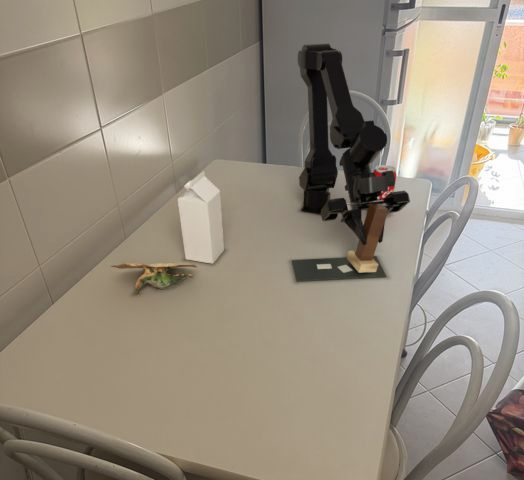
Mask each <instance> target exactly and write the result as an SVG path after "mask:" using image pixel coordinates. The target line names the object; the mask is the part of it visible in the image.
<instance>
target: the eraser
mask: <svg viewBox="0 0 524 480" xmlns="http://www.w3.org/2000/svg"><path fill="white" fill-rule="evenodd" d="M387 213H388V209H387V208H386V207H385V206H384V205H383V204H370V205H369V208H368V210H366V215H365V219H364V222H363V227H364V231H365V234H366V240H367V244H366V245H363V244H362V242H361V241H360V240H359V239H358V242H357V245H356V249H355V250H348V252H347V255H346V257H347V260H348V261H349V262H350V263H351V264H352V265H353V266H354V268H355V269H356V270H357V271H358V272H359V273H362V272H376V270H377V267H378V263H377V262H376V261H375V260H374V259H373V256H375V253H376V251H377V247H378V243H379V242H378V241H379V238H380V234H381V231H382V228H383V225H384V222H385V223H386V220H387V216H388V214H389V213H388V214H387ZM385 219H386V220H385ZM384 226H385V225H384Z"/></svg>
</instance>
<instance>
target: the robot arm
mask: <svg viewBox="0 0 524 480" xmlns="http://www.w3.org/2000/svg"><path fill="white" fill-rule="evenodd" d="M301 47H302V48H301V49H300V50H298V52H297V66H298V67H299V72H300V73H299V75H300V77H301V79H302V81H303V82H304V84H305V86H306V87H307V101H308V102H307V104H308V105H307V106H308V107H307V108H308V127H309V128H308V129H309V151H308V154H307V156H306V157H305V159H304V168H303V170H302V171H301V173H300V175H299V177H298V183H299V184H298V185H299V187H300V188H301V189H302V190H303V206H302V207H301V209H300V211H301V212H306V213H312V214H319V215H320V216H321V221H322V222H329V221H335V220H336V219H337V217H338V216H339V214H340V215H341V219H340V220H339V221H340V223H344V224H345V225H346V226H347V227H348V228H349V229H350V230H351V231H352V232H353V233H354V234H355V236H356V237H357V239H358V241H359V240H360V241H361V242H362V244H363V245H366V244H367V240H366V234H365V231H364V227H363V225H364V222H363V220H362V213H363V211H368V208H369V205H370V204H383V205H384V206H385V207H386V208H387V209H388V213H387V215H388V214H393V213H398V212H401V211H402V210H403V208H405V207H406V206H407V205H408V204H410V202H411V199H410V195H409V193H408V192H407V191H406V190H399V191H398V190H397V191H394V192H390V193H389V194H388V195H387V196H386V197H385V198H384V199H377V197H379V196H381V195H382V192H381V191H383V192H387V191H388V187H392V186H394V185H395V186H396V182H395V176H394V173H393V170H392V171H385V172H382V175H381V176H376V175H375V173H373V172H372V169H371V164H372V163H374V161H375V160H376V159H377V157H378V156H379V155H380V154H381V152H382V151H383V150H384V149H385V148H386V145H387V144H388V136H387V134H386V133H385V130H383V129H382V128H381V127H380V126H377V125H376V124H375V120H373V119H372V120H365V118H364V116H363V114H362V112H361V111H359V110H358V109H357V108H356V107H355V106H354V103H353V100H352V97H351V93H350V89H349V85H348V81H347V77H346V74H345V71H344V67H343V55H342V51H340V50H339V48H333V47H332V46H331V44H330V43H327V42H326V43H313V44H303V45H302V46H301ZM328 105H329V107H328ZM328 108H330V112H331V116H332V119H331V122H330V126H329V114H328V113H329V111H328V110H329V109H328ZM329 140H330V143H331V144H332V146H333V147H334V148H335V149H337V150H342V149H346V150H345V151H344V152H343V153H342V155H341V157H340V159H339V166H340V167H342V170H343V173H344V179H345V185H344V190H345V192H347V193H348V198H349V202H347V200H346V199H345V198H344V197H338V198H331V195H332V193H331V192H330V189H334V188H335V186H336V182H337V179H338V175H339V171H338V166H337V157H336V155H334V154H333V153H332V152H331V150H330V146H329ZM386 220H387V218H386V219H385V222H384V225H383V228H382V231H381V234H380V238H379V241H378V243H379V244H381V243H382V242H383V239H384V232H385V225H386Z"/></svg>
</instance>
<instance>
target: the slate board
mask: <svg viewBox="0 0 524 480" xmlns="http://www.w3.org/2000/svg"><path fill="white" fill-rule="evenodd" d="M373 259H374V260H375V261H376V262H377V263H378V267H377V270H376V272H362V273H359V272H358V271H357V270H356V269H355V268H354V266H353V265H352V264H351V263H350V262H349V261H348V260H347V256H346V257H345V256H344V257H327V258H325V257H324V258H308V259H307V258H306V259H305V258H304V259H303V258H302V259H292V260H291V264H292V268H293V272H294V276H295V282H296V283H299V282H300V283H301V282H318V281H320V282H321V281H339V280H342V281H343V280H360V279H379V278H381V279H382V278H387V274H386V273H385V270H384V269H383V266H382V265H381V262H380V261H379V259H378V257H377V255H374V256H373Z"/></svg>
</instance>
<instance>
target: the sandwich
mask: <svg viewBox="0 0 524 480" xmlns="http://www.w3.org/2000/svg"><path fill="white" fill-rule="evenodd" d="M110 267H111V268H116V269H123V270H124V269H143V271H144V273H143V274H142V275H140V276H139V277H138V278H137V280H136V282H135V285H134V294H135V295H138V294H139V292H140V289H142V288H143V287H144V286H145V285H147V284H149V285H151V286H152V287H154V288H157V289H160V290H165V289H171V288H173V287H174V286H176V285H178V284H179V283H180V282H181V281H184V280H185V279H187V278H188V277H190V278H193V277H194V275H192V274H188V275H185V274H184V273H182V274H181V275H180V274H171V269H174V268H175V269H176V268H186V267H188V268H198V266H197V265H196V264H193V263H185V262H184V263H174V262H160V263H159V262H158V263H149V264H144V263H137V262H125V263H122V264H114V265H110Z"/></svg>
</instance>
